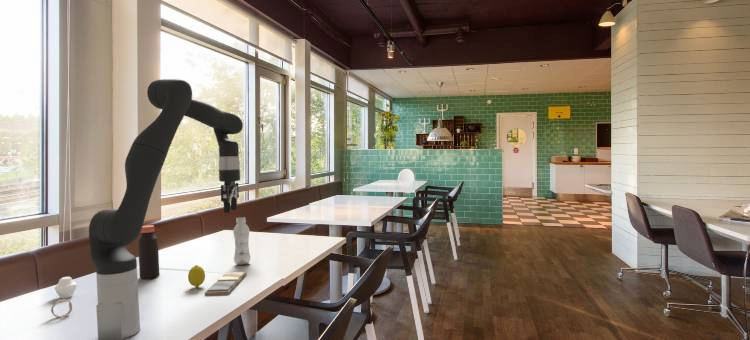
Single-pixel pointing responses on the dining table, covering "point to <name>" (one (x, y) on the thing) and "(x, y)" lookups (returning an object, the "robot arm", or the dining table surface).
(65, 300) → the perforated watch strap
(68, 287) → the muffin
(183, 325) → the dining table surface
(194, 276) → the lemon
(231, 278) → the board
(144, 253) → the vinegar
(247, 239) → the plastic bottle
